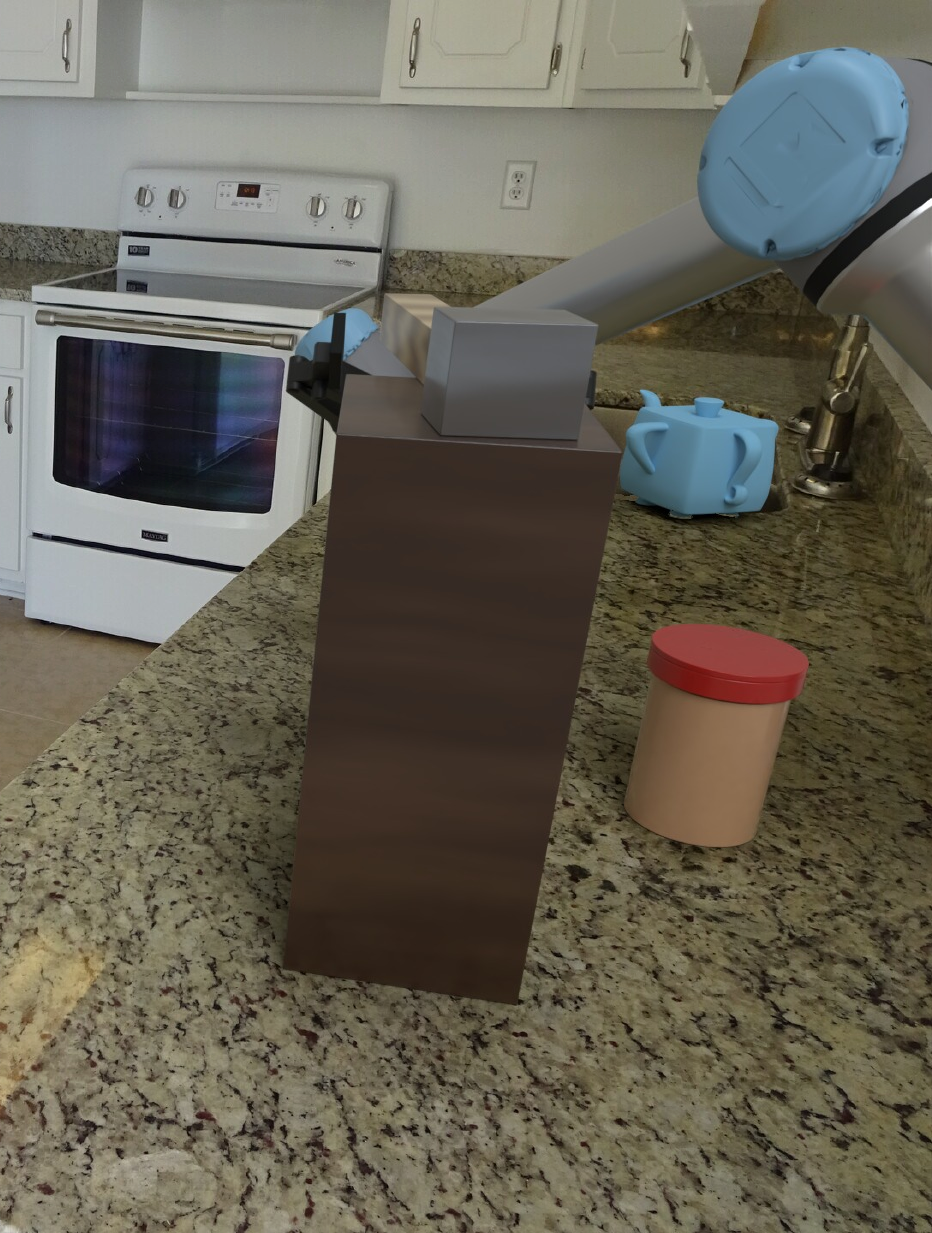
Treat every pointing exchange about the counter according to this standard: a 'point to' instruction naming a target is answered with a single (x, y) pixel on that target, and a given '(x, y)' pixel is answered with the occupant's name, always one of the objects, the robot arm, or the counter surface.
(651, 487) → the teapot
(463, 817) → the stand
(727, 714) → the jam jar
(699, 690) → the lid
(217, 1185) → the counter surface
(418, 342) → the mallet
